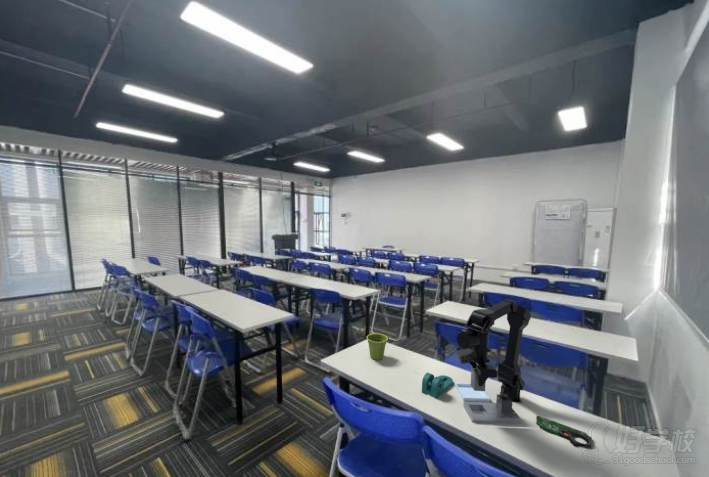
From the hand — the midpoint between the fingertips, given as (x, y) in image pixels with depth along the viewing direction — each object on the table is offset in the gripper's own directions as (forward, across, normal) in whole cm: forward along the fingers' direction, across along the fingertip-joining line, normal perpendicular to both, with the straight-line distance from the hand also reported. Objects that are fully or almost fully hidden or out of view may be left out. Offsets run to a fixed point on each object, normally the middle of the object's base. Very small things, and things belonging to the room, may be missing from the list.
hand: (478, 383), depth 109 cm
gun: (+13, +8, +27) cm, 31 cm away
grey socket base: (+13, 0, +5) cm, 14 cm away
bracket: (+13, -17, -10) cm, 24 cm away
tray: (+13, -14, +3) cm, 19 cm away
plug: (+2, 0, 0) cm, 2 cm away
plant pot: (+13, -45, -38) cm, 60 cm away
